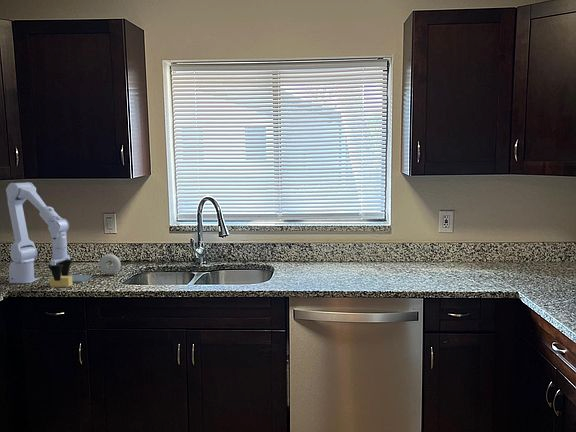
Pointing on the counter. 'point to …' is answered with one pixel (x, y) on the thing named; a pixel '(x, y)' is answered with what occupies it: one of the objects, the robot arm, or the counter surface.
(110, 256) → the donut
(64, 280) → the yellow rectangular block
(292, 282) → the counter surface
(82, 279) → the mat
